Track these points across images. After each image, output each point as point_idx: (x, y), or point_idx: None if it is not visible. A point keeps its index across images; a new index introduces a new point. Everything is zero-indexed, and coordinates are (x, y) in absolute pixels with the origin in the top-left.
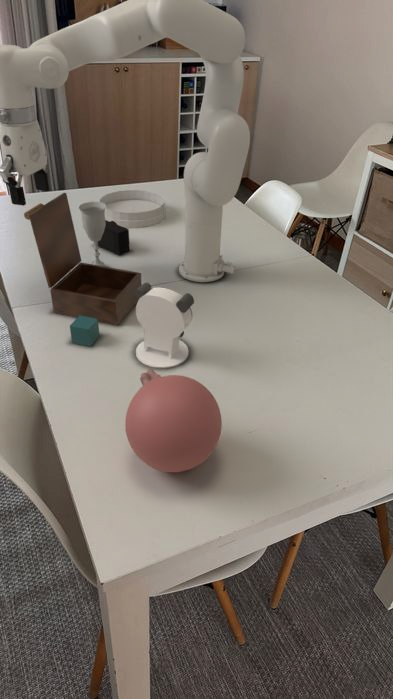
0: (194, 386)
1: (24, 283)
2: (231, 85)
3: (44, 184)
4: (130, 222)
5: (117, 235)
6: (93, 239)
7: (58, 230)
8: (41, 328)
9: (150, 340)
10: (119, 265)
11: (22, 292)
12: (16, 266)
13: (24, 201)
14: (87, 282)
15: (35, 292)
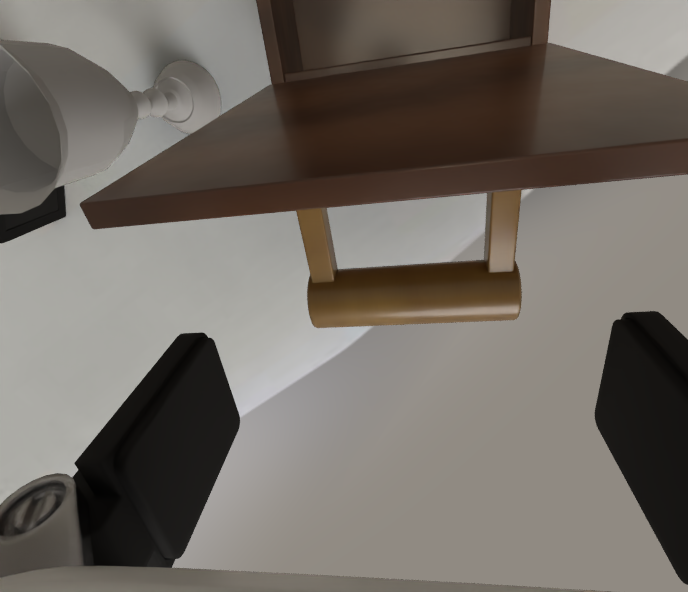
0: None
1: (382, 265)
2: None
3: (190, 389)
4: None
5: None
6: (132, 98)
7: (377, 106)
8: (637, 22)
9: None
10: (110, 45)
11: (432, 238)
12: (310, 339)
13: (670, 329)
14: (300, 56)
15: (416, 202)
